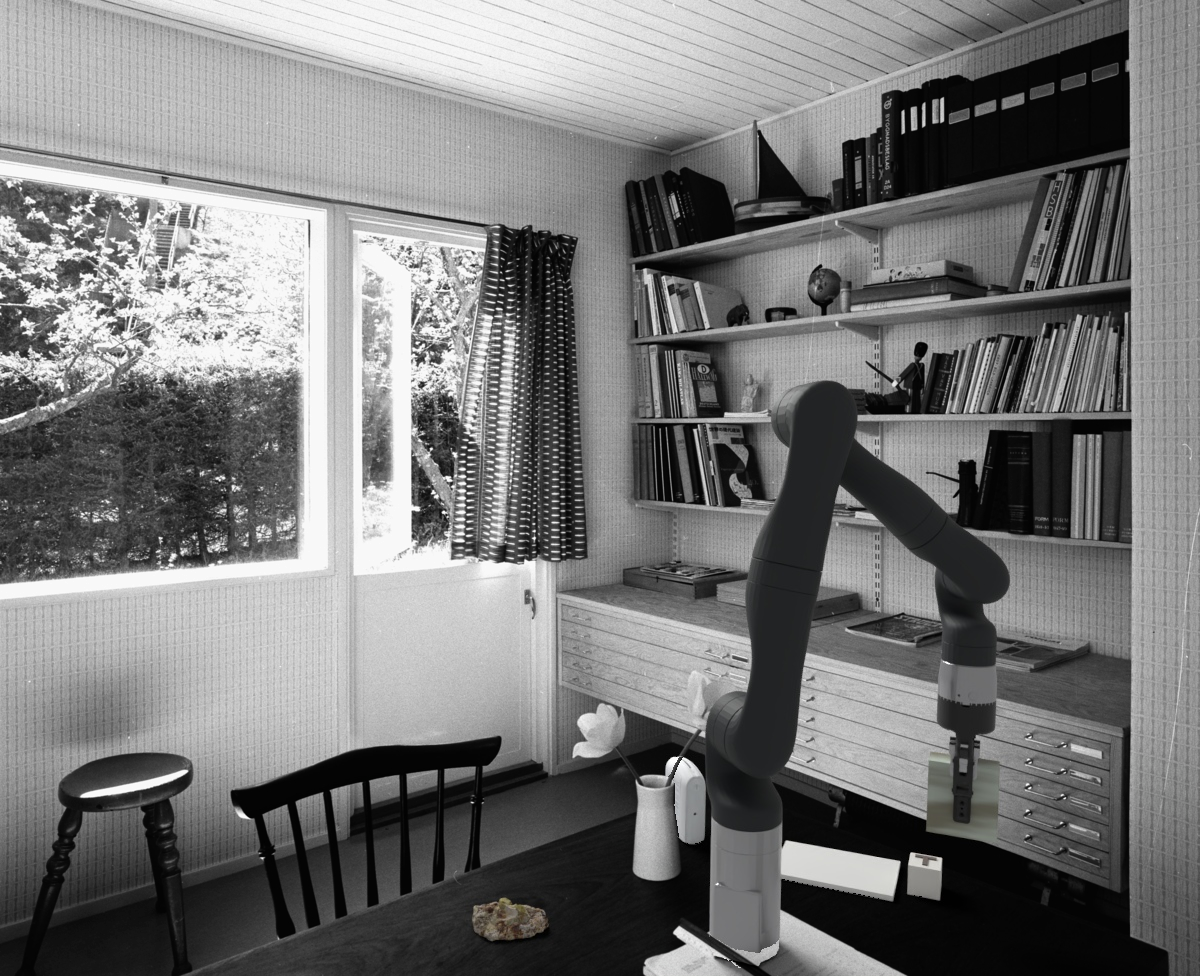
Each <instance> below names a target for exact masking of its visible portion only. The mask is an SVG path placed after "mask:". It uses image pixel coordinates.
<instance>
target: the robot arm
mask: <svg viewBox="0 0 1200 976" xmlns="http://www.w3.org/2000/svg"><path fill="white" fill-rule="evenodd" d="M854 397H855V396H853V394H852V392H851V391H850V390H849V388H848V387H846V386H845V385H843V384H842V383H840V382H838V381H835V380H829V379H828V380H827V379H826V380H825V379H824V380H817V381H812V382H807V383H803V384H799V385H796V386H794V387H790V388H788V389H786V390H785V391H784V392H782V393H781V394H780V395H779V396H778V397H777V398H776V399H775V401H774V403H773V404H772V405H773V406H772V408H771V413H770V422H771V428H772V431H773V432H774V435H775V436H776V437H777V439H778V440H779V442H780V443H782V445H784V446H786V447H787V449H788V456H787V460H786V461H787V462H786V467H785V471H784V476H783V481H782V484H781V488H780V489H779V492H778V494H777V496H776V499H775V500H774V503H773V504H772V507H771V508H770V511H768V515H767V516H766V518H765V520H764V522H763V524H762V526H761V529H760V531H759V533H758V535H757V537H756V540H755V543H754V546H753V549H752V552H751V559H750V564H749V569H748V573H747V577H746V578H747V579H746V585H745V592H744V593H745V599H744V600H745V604H744V605H745V613H746V621H747V627H748V634H749V640H750V649H751V650H750V651H751V665H750V666H751V667H750V674H749V678H748V679H749V680H748V684H747V689H746V691H743V690H733V691H729V692H727V693H725V694H723V695H722V696H720V697H719V698H718V699H717V700H715V702H714V703H713V705H712V707H710V710H709V713H708V716H707V718H706V723H705V732H704V733H705V734H704V753H705V754H704V757H705V758H704V760H705V784H706V792H707V795H708V798H709V801H710V806H711V813H710V815H711V822H710V823H711V829H710V830H711V832H710V834H711V835H710V873H709V874H710V876H709V877H710V879H709V880H710V881H709V882H710V884H709V885H710V886H709V935H710V934H711V935H712V936H713V937H714V938H716V939H718V940H720V941H721V942H723V943H724V944H726V945H728V946H730V947H731V948H734V949H735V950H737V949H738V950H744V951H748V952H755V953H760V952H761V950H762V949H764V948H767V947H770V946H772V945H773V944H776V942H777V941H778V940H779V938H780V939H781V898H782V897H781V895H782V894H781V892H782V890H781V889H782V879H781V854H782V848H783V846H782V843H783V802H782V801H783V800H782V798H781V796H780V794H779V792H778V790H777V789H776V787H775V785H774V783H773V781H772V777H774V776H775V775H778V774H779V773H780V772H781V771H782V770H783V769H784V768H785V767H786V765H787V764H788V762H789V761H790V758H791V756H792V754H793V751H794V750H795V749H794V748H795V745H796V740H797V734H798V724H799V715H800V714H799V712H800V704H801V692H802V691H801V690H802V681H803V675H804V673H803V672H804V667H805V661H806V656H807V652H808V651H807V650H808V644H809V640H810V634H811V629H812V628H811V627H812V623H813V617H814V612H815V608H816V604H817V601H818V597H819V596H818V595H819V591H820V587H821V586H820V585H821V581H822V576H823V572H824V566H825V558H826V552H827V547H828V541H829V537H830V533H831V528H832V522H833V517H834V510H835V506H836V505H835V504H836V501H837V500H836V499H837V495H838V492H839V488H840V487H841V488H843V489H844V490H845V491H846V492H848V494H850V496H852V497H853V498H854V499H855V500H856V501H857V502H859V503H860V505H862V506H863V507H864V508H865V509H866V510H867V511H868V512H869V513H870V514H872V516H873V517H875V518H876V520H878V521H879V523H881V524H882V525H883V527H885V528H886V529H887V530H888V531H889V532H890V534H892V535H893V536H894V538H896V539H897V540H898V542H900V543H901V544H902V545H903V546H904V547H905V548H906V549H907V550H908V551H909V552H910V553H911V554H913V555H914V556H916V557H917V558H918V559H920V560H922V561H925V562H927V563H928V564H931V565H932V566H934V567H935V572H934V588H935V589H934V592H935V596H936V597H935V598H936V603H937V609H938V615H939V618H940V623H941V626H942V627H941V628H942V633H941V649H940V650H941V651H940V653H941V654H940V665H939V669H938V675H937V678H938V680H937V700H936V702H937V706H936V723H937V724H938V726H939V727H940V728H942V729H944V730H947V731H951V732H953V733H954V734H955V736H953V735H952V736H951V735H950V736H949V744H948V745H949V746H948V754H950V755H951V759H950V775H951V776H952V777H953V788H952V792H953V795H954V802H953V820H954V821H955V822H958V823H964V824H969V823H970V815H971V798H972V795H973V791H972V786H973V780H975V779H976V778H977V762H978V759H979V758H980V756H981V740H980V739H976V738H977V735H981V736H982V735H984V736H985V735H989V734H991V733H993V732H994V731H995V729H996V720H997V719H996V718H997V697H998V696H997V694H998V675H997V664H996V663H997V646H998V645H997V644H998V643H997V642H998V633H997V628H996V626H995V624H994V623H993V622H992V621H991V620H989V618H987V616H986V614H985V611H984V605H988V604H989V605H990V604H993V603H996V602H999V601H1000V600H1002V599H1003V598H1004V597H1005V595H1007V593H1008V591H1009V588H1010V583H1011V578H1010V572H1009V568H1008V567H1007V565H1006V563H1005V562H1004V560H1003V559H1002V557H1000V556H999V554H998V553H997V552H995V551H994V550H993V549H992V548H991V547H990V546H988V545H987V544H986V543H984V542H983V541H982V540H980V539H979V538H978V537H976V536H975V535H974V534H972V533H971V532H969V531H968V530H967V529H965V528H963V527H962V526H961V525H959V524H958V523H957V522H955V521H954V520H953V518H952V517H951V516H950V515H949V514H948V513H947V512H946V511H945V509H943V508H942V507H941V506H940V505H939V504H938V503H937V501H936V500H934V499H933V498H932V497H931V495H929V494H928V493H927V492H926V491H925V490H923V489H922V488H921V487H920V486H918V485H917V483H915V482H914V481H912V480H911V479H910V478H908V477H906V476H905V475H904V474H902V473H901V472H899V471H897V470H896V469H894V468H893V467H891V466H890V465H888V464H887V463H885V462H883V461H882V460H881V459H879V458H878V457H876V455H874V454H873V453H871V452H870V451H869V450H868V449H867V448H865V447H864V446H863V445H862V444H861V442H859V441H858V440H857V439H856V438H855V435H856V432H857V427H858V419H859V417H858V416H859V415H858V414H859V413H858V406H857V405H858V404H857V403H856V400H855V398H854ZM973 758H974V761H973ZM957 782H961V783H967V784H968V785H969V788H968V787H962V786H957Z"/></svg>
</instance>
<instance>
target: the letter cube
mask: <svg viewBox="0 0 1200 976" xmlns="http://www.w3.org/2000/svg"><path fill="white" fill-rule="evenodd" d="M942 874H943V858H942V857H938V856H933V855H927V854H921V853H916V852H910V854H909V860H908V864H907V892H906V894H907V895H909V896H914V895H915V896H914V897H919V896H922V897H921V898H926V899H930V900H936V901H941V892H942Z"/></svg>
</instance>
